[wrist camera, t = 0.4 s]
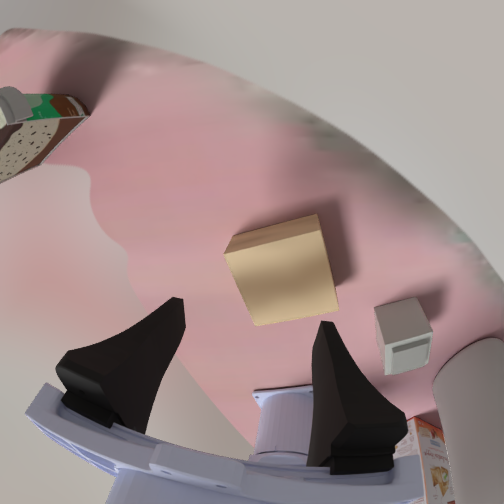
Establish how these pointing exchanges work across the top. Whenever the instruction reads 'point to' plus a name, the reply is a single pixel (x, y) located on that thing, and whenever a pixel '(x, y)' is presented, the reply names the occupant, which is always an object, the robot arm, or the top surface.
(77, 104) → the food container
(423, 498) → the cracker box
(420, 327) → the block
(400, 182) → the top surface
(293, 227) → the oak block
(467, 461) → the cylinder vase
